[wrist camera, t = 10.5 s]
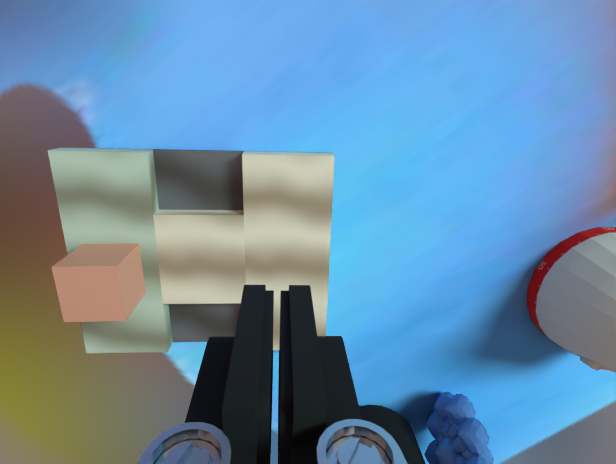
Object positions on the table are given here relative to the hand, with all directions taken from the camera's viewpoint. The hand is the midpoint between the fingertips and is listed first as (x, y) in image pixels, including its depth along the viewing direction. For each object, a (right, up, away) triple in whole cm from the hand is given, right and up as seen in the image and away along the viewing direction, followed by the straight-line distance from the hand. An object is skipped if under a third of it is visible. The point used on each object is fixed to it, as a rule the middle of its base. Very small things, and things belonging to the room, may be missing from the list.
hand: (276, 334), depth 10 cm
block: (-17, -1, +26) cm, 31 cm away
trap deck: (-9, +1, +28) cm, 30 cm away
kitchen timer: (+31, -3, +33) cm, 45 cm away
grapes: (+17, -19, +37) cm, 45 cm away
